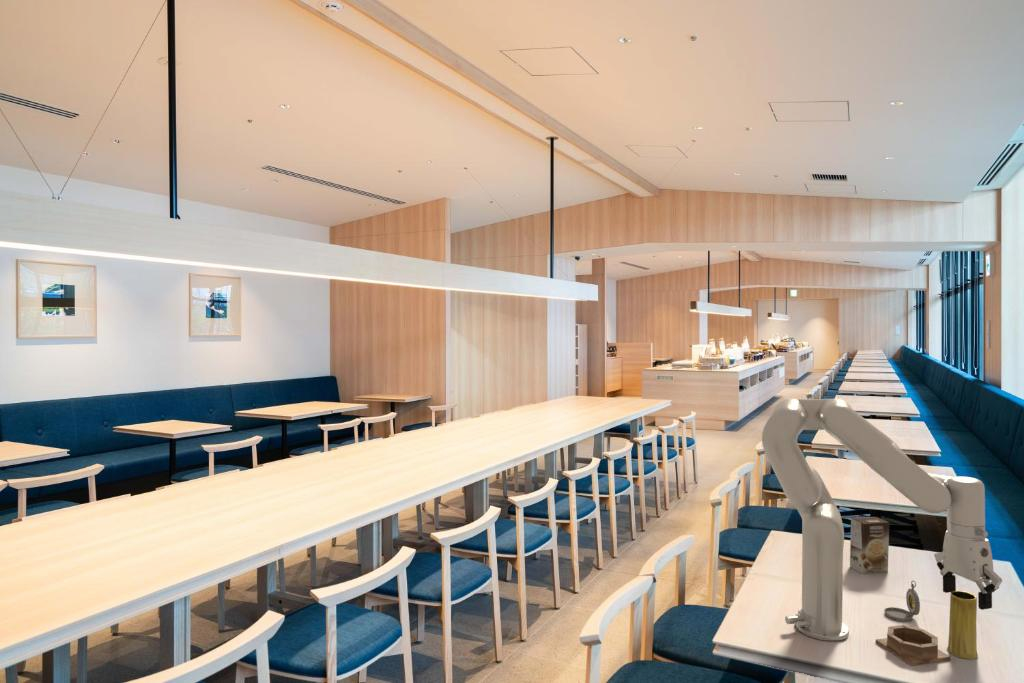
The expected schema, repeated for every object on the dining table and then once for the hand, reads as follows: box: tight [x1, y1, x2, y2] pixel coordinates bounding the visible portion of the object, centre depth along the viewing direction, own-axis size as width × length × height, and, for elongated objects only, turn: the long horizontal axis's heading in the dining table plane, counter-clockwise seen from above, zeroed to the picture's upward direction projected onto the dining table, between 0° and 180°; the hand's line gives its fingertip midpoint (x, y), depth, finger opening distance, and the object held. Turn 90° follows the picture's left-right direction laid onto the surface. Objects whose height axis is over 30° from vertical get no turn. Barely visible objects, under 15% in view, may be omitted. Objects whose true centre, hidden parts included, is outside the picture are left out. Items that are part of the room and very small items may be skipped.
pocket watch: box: [884, 580, 921, 621], centre depth 178 cm, size 8×8×10 cm
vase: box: [946, 590, 979, 660], centre depth 159 cm, size 6×6×14 cm
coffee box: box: [849, 516, 890, 574], centre depth 210 cm, size 9×6×16 cm
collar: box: [875, 624, 951, 667], centre depth 160 cm, size 11×11×4 cm
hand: (966, 599), depth 158 cm, fingers open, 9 cm apart
